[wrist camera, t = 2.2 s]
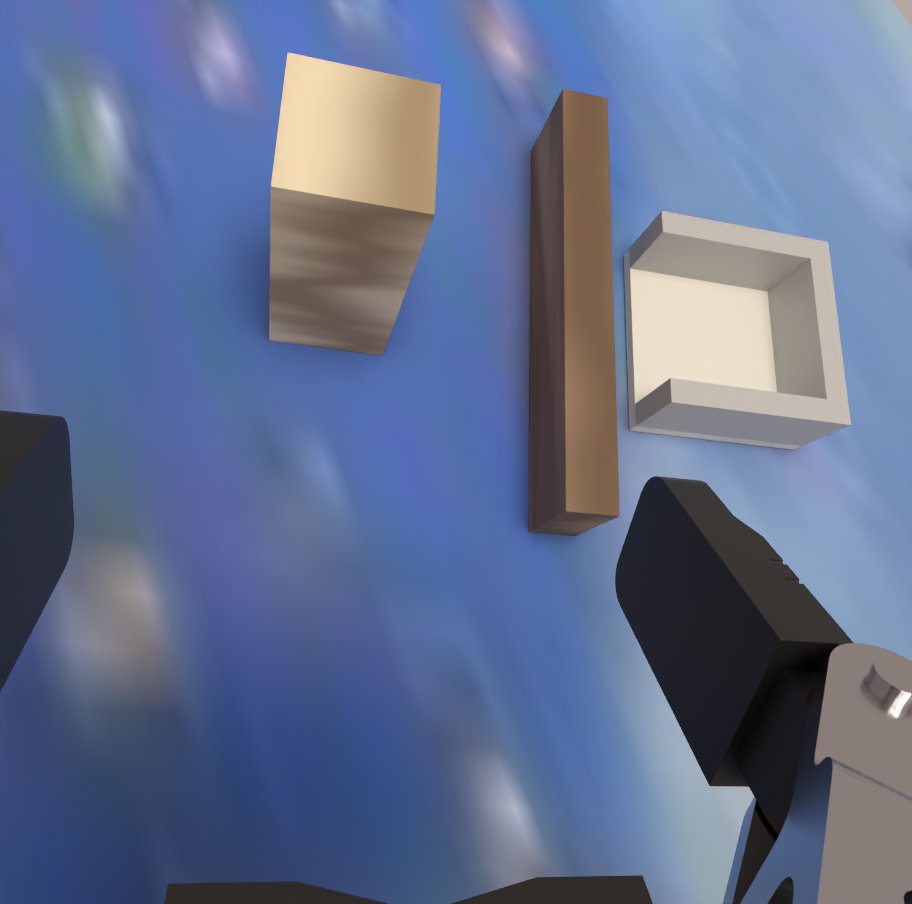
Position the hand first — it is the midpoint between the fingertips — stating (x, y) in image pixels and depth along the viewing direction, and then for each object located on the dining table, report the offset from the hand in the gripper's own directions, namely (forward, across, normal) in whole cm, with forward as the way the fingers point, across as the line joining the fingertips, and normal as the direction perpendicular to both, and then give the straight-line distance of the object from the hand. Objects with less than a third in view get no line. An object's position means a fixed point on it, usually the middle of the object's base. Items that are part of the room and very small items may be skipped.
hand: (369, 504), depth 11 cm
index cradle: (+22, -17, +4) cm, 27 cm away
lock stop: (+21, 0, +4) cm, 22 cm away
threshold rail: (+21, -9, +4) cm, 24 cm away
